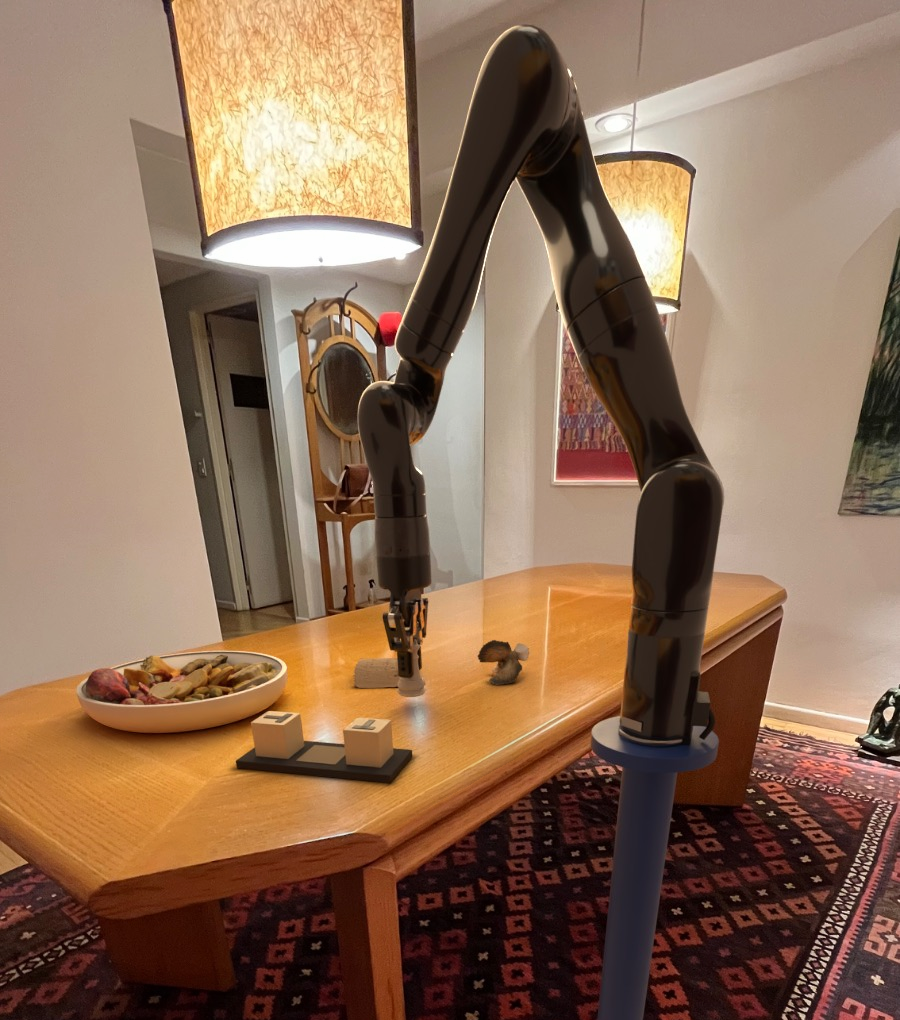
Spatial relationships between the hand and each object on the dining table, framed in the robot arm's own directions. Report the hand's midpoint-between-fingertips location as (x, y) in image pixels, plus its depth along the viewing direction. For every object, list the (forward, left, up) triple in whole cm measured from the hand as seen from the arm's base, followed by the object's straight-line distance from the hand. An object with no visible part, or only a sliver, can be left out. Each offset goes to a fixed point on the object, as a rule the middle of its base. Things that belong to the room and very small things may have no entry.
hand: (410, 672), depth 101 cm
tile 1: (+9, +24, -4) cm, 26 cm away
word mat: (+3, +24, -5) cm, 25 cm away
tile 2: (-3, +24, -4) cm, 24 cm away
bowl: (+33, +8, -5) cm, 35 cm away
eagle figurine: (-11, -17, -5) cm, 21 cm away
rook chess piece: (0, 0, -3) cm, 3 cm away
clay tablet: (+9, -14, -5) cm, 18 cm away
